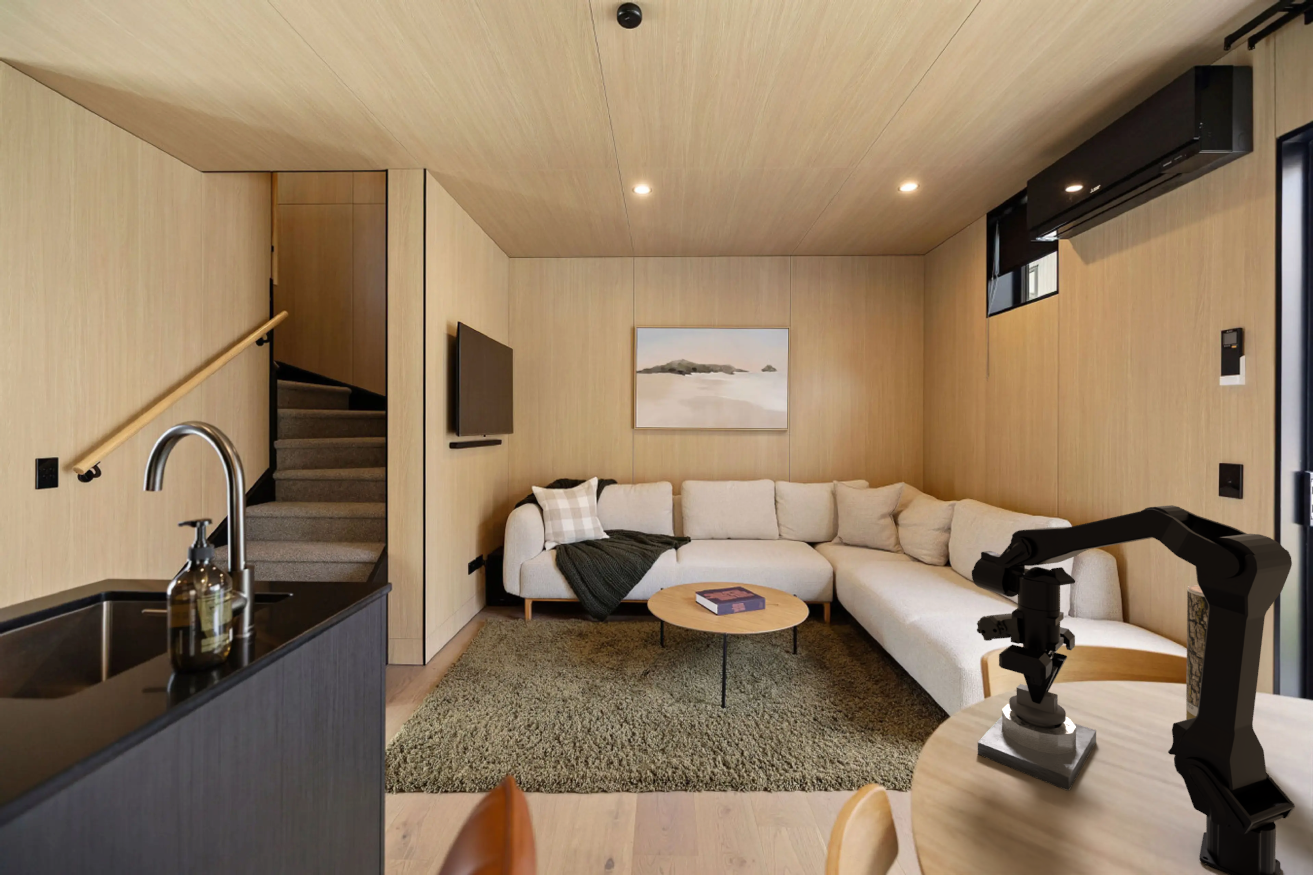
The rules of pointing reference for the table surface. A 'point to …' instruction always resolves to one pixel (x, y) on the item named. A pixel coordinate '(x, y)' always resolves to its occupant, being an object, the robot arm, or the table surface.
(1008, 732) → the ring on base plate
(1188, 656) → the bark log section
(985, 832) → the table surface
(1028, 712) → the grip bar knob
